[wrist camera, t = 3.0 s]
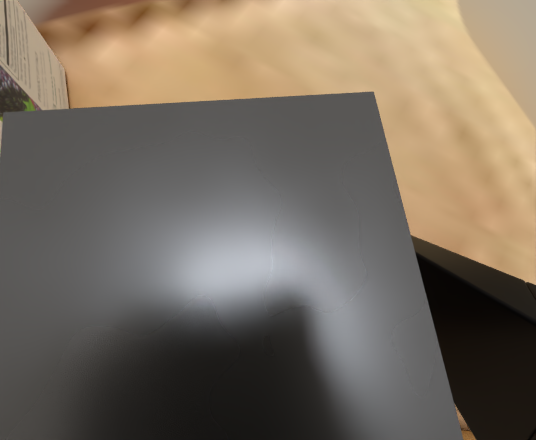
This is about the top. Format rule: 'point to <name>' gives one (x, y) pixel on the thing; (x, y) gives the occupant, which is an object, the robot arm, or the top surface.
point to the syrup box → (27, 66)
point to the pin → (212, 276)
